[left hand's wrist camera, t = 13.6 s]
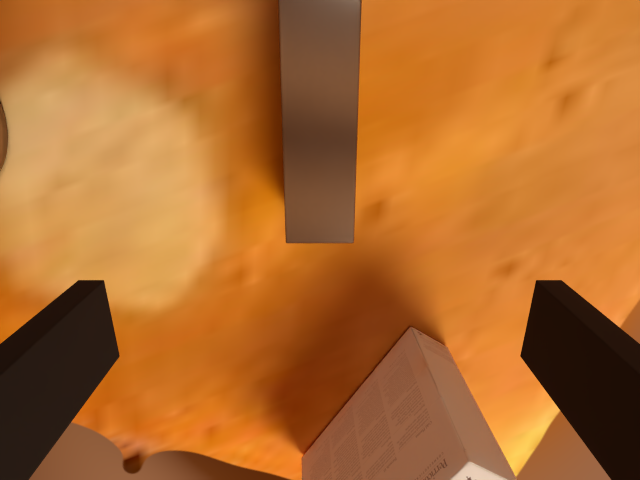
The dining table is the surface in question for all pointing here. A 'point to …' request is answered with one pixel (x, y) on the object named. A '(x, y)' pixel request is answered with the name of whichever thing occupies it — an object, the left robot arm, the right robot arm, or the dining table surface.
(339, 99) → the beam
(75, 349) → the left robot arm
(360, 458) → the skincare box
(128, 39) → the dining table surface
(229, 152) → the dining table surface
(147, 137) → the dining table surface
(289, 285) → the dining table surface
